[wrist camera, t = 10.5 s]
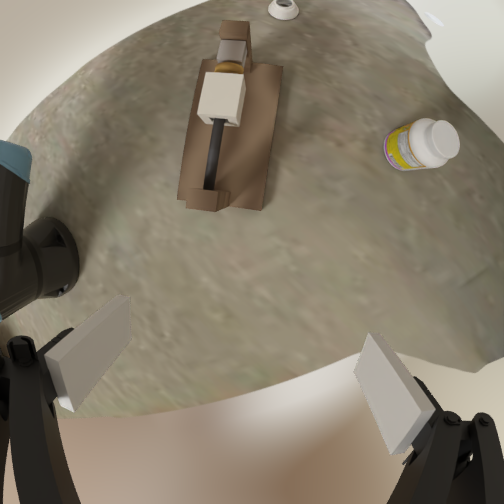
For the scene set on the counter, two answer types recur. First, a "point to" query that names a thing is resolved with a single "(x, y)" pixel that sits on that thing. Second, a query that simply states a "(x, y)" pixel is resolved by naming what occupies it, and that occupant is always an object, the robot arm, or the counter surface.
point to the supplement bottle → (421, 145)
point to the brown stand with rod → (231, 132)
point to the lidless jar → (283, 9)
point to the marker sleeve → (222, 98)
